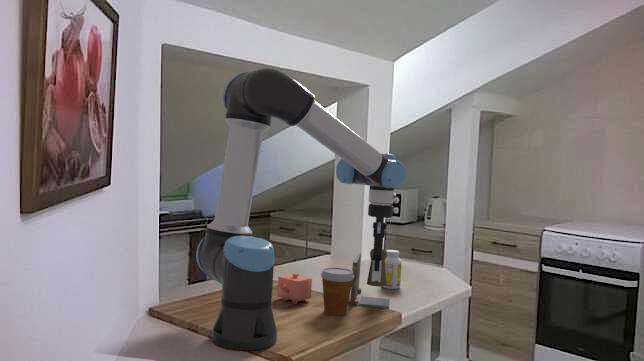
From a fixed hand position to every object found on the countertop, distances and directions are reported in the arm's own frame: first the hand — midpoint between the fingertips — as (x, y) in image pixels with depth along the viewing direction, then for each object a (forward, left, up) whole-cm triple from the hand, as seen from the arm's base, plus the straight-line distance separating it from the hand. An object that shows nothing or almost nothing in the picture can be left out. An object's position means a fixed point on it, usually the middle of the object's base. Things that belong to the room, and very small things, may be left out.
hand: (376, 279), depth 161 cm
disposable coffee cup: (-11, -14, -8) cm, 19 cm away
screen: (-7, +4, -7) cm, 11 cm away
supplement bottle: (+4, +23, -8) cm, 25 cm away
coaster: (0, 0, -7) cm, 7 cm away
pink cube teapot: (-25, -6, -8) cm, 26 cm away
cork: (0, 0, -2) cm, 2 cm away
